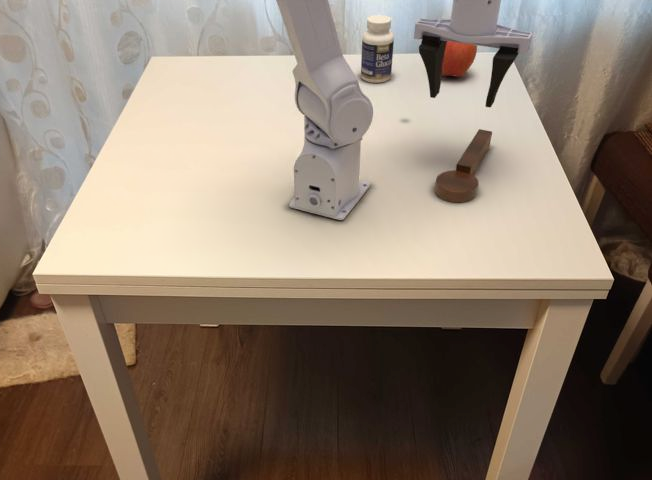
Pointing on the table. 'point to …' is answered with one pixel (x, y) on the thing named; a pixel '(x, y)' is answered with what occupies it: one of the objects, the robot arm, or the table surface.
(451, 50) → the apple
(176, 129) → the table surface
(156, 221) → the table surface
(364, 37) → the pill bottle
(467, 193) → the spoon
